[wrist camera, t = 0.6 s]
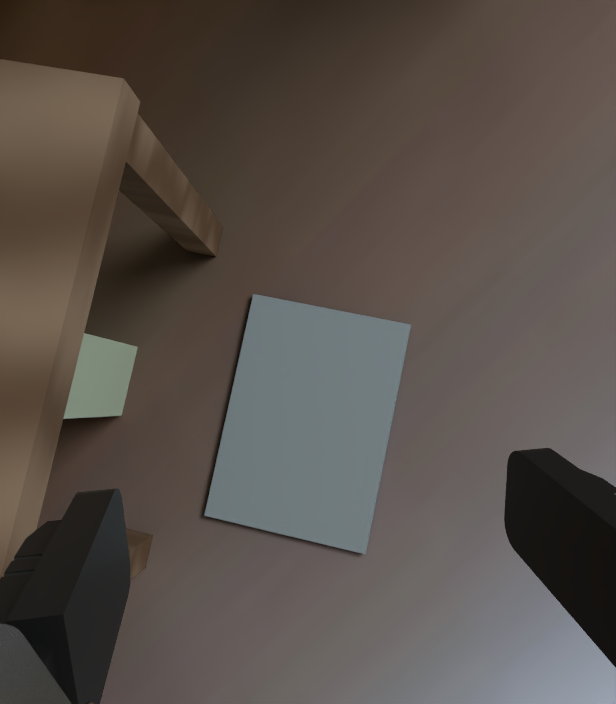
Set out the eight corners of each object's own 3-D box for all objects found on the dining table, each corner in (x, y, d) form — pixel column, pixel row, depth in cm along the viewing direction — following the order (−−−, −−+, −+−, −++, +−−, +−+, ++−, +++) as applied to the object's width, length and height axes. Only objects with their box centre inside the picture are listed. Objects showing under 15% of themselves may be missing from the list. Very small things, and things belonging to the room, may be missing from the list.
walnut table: (44, 194, 37) (-205, 26, 20) (230, 228, 35) (123, 78, 19) (-39, 521, 35) (-381, 623, 19) (153, 569, 34) (-36, 725, 18)
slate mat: (254, 295, 35) (253, 293, 35) (410, 325, 34) (411, 324, 34) (205, 514, 34) (204, 515, 34) (365, 552, 33) (365, 554, 32)
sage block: (72, 333, 36) (-36, 306, 26) (137, 347, 35) (52, 325, 25) (56, 401, 35) (-61, 400, 26) (121, 415, 35) (29, 420, 25)
